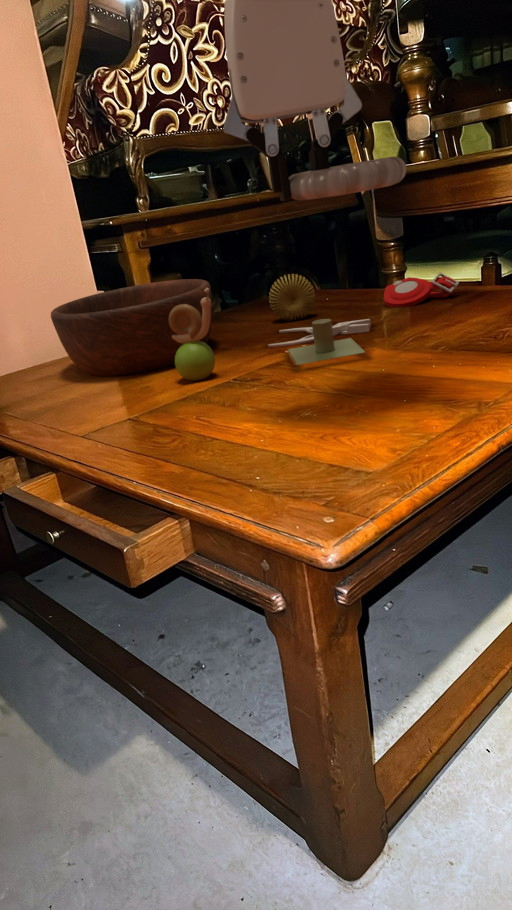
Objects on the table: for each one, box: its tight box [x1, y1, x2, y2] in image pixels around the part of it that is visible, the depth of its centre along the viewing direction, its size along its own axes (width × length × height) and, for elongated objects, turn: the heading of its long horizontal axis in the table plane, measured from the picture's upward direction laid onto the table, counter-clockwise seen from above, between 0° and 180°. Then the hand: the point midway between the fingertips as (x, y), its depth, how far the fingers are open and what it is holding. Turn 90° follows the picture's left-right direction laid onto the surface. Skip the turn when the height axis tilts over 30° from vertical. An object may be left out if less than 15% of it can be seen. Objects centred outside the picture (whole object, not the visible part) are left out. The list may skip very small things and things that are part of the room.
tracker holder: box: [383, 272, 460, 308], centre depth 119 cm, size 12×4×10 cm
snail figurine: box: [169, 288, 216, 382], centre depth 92 cm, size 5×6×12 cm
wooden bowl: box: [50, 278, 213, 377], centre depth 110 cm, size 25×25×10 cm
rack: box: [287, 318, 366, 366], centre depth 93 cm, size 9×9×5 cm
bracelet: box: [288, 156, 407, 201], centre depth 66 cm, size 11×11×2 cm
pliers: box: [267, 318, 372, 348], centre depth 106 cm, size 10×2×15 cm
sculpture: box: [268, 273, 316, 322], centre depth 119 cm, size 8×4×8 cm, turn 90°
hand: (302, 195), depth 66 cm, fingers closed on bracelet, 2 cm apart
